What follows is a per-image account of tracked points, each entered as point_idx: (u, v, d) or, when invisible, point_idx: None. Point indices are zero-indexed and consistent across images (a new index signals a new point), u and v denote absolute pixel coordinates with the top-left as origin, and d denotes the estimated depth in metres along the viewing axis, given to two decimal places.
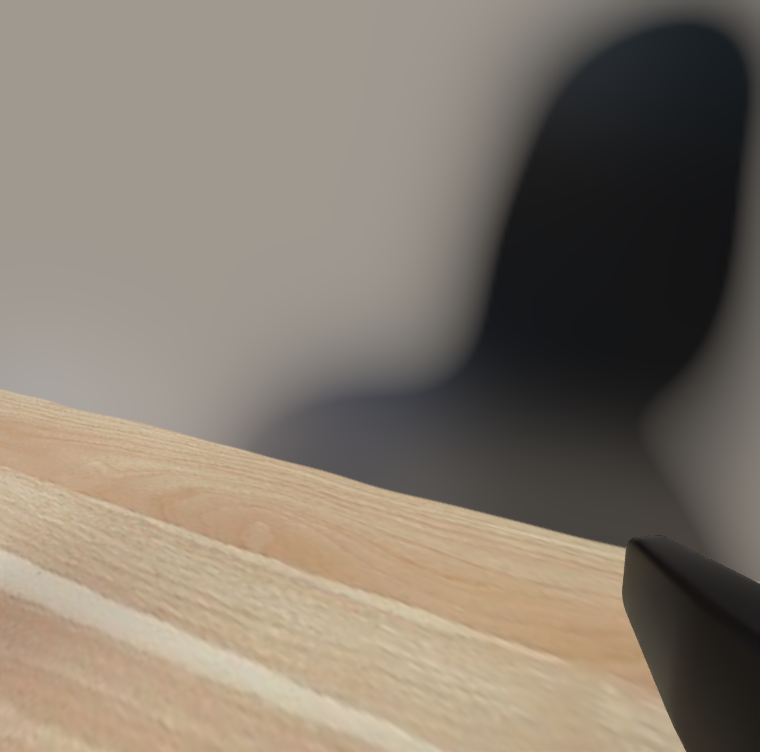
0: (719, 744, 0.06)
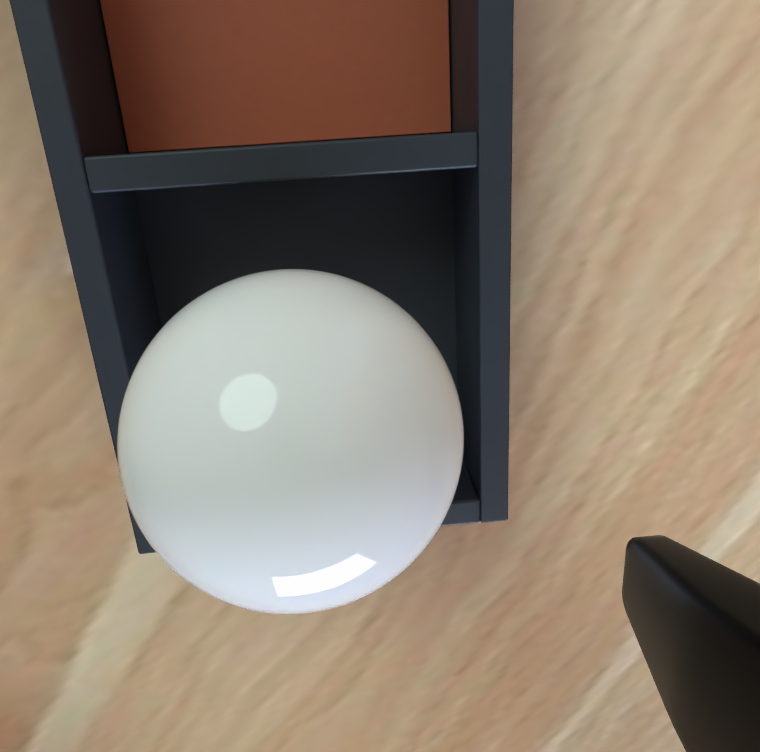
0: (719, 744, 0.06)
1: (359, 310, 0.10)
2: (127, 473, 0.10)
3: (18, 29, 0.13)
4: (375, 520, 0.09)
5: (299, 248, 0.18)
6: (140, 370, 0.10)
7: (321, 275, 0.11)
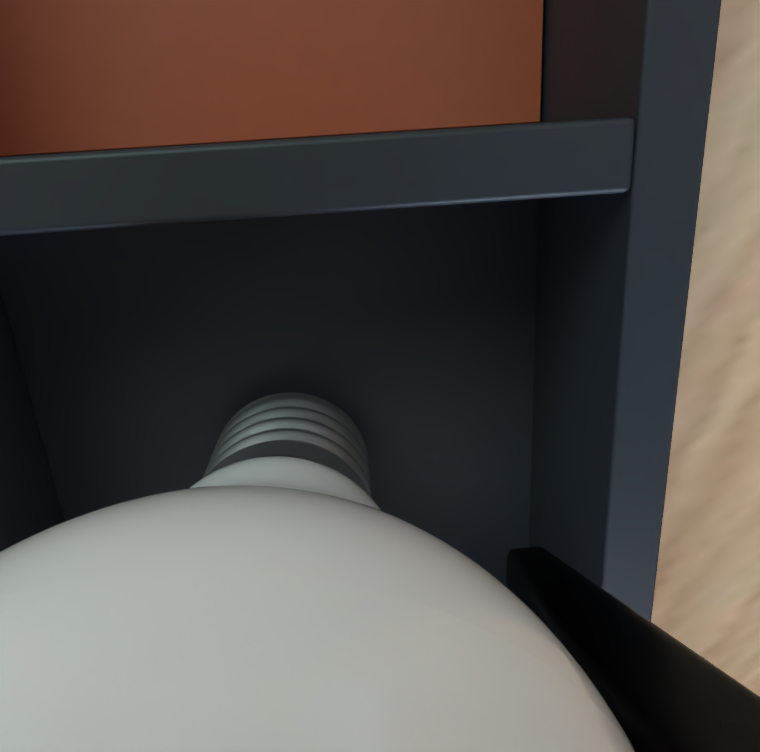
0: None
1: None
2: None
3: None
4: None
5: (274, 321, 0.11)
6: None
7: (281, 586, 0.03)
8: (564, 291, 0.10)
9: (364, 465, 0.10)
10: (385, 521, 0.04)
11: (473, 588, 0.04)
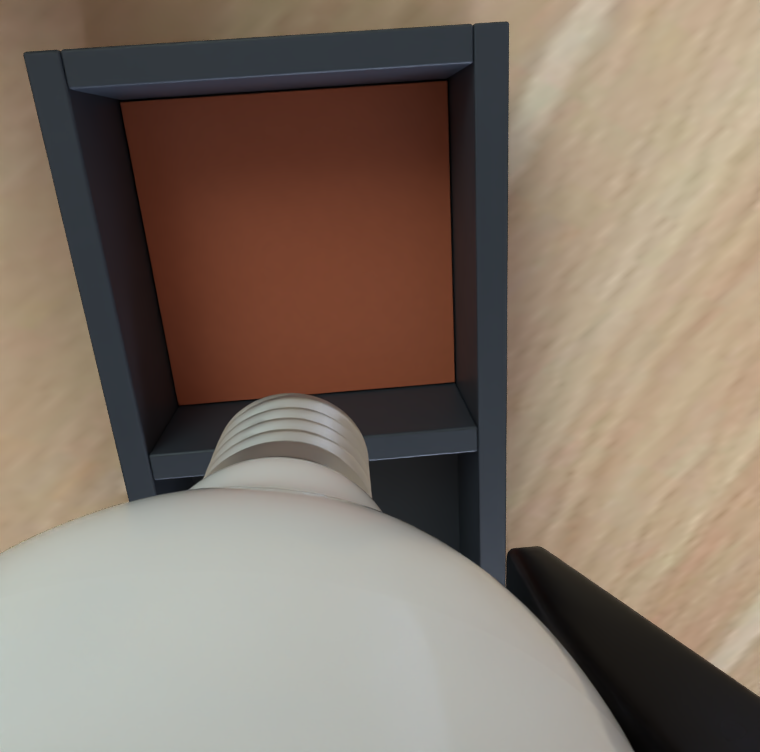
0: None
1: None
2: None
3: (98, 365, 0.16)
4: None
5: None
6: None
7: (281, 588, 0.03)
8: (465, 467, 0.20)
9: (364, 466, 0.10)
10: (385, 523, 0.04)
11: (473, 590, 0.04)
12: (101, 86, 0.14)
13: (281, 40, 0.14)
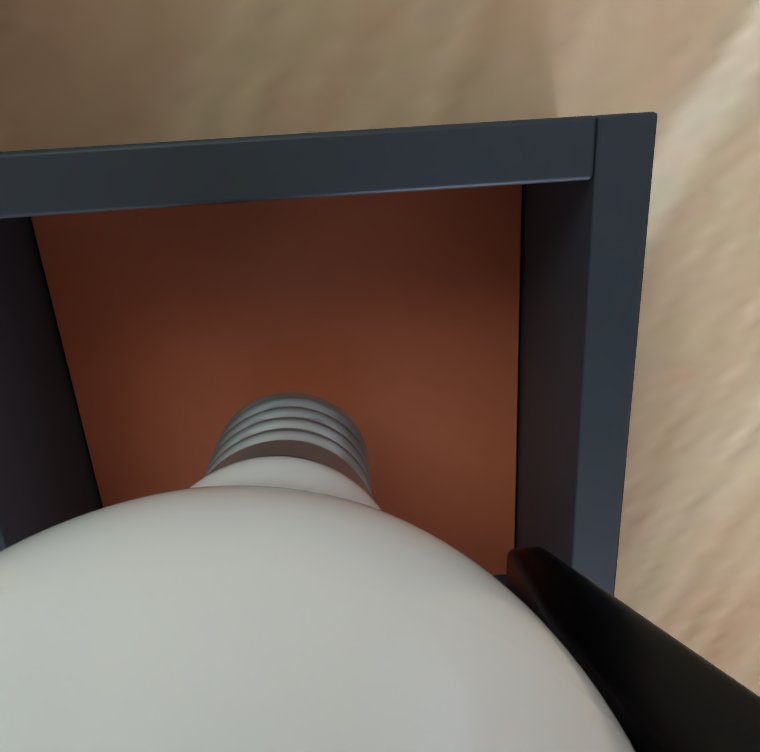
0: None
1: None
2: None
3: None
4: None
5: None
6: None
7: (280, 586, 0.03)
8: None
9: (365, 465, 0.10)
10: (385, 521, 0.04)
11: (473, 588, 0.04)
12: None
13: (268, 144, 0.08)
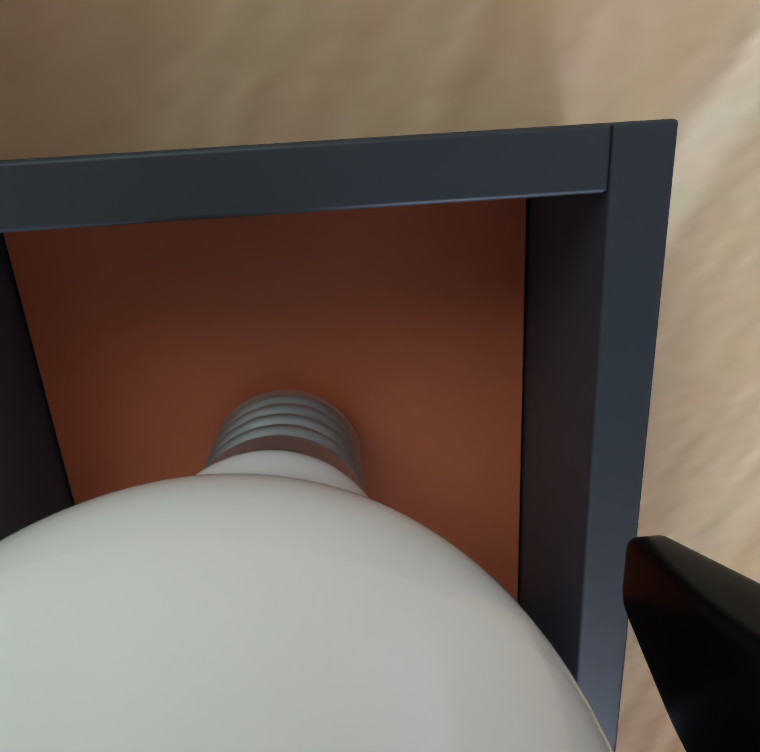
0: (719, 744, 0.06)
1: (388, 747, 0.03)
2: None
3: None
4: None
5: None
6: None
7: (269, 557, 0.04)
8: None
9: (357, 460, 0.10)
10: (367, 505, 0.05)
11: (445, 564, 0.04)
12: None
13: (252, 154, 0.07)
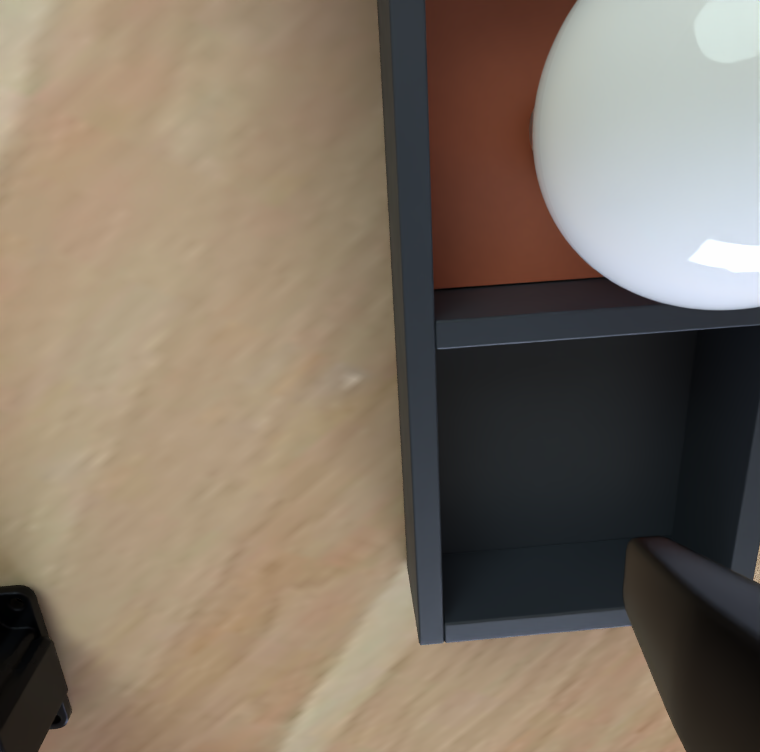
0: (719, 744, 0.06)
1: None
2: (628, 86, 0.08)
3: (398, 219, 0.15)
4: None
5: (556, 367, 0.20)
6: None
7: None
8: (720, 356, 0.19)
9: None
10: None
11: None
12: None
13: None
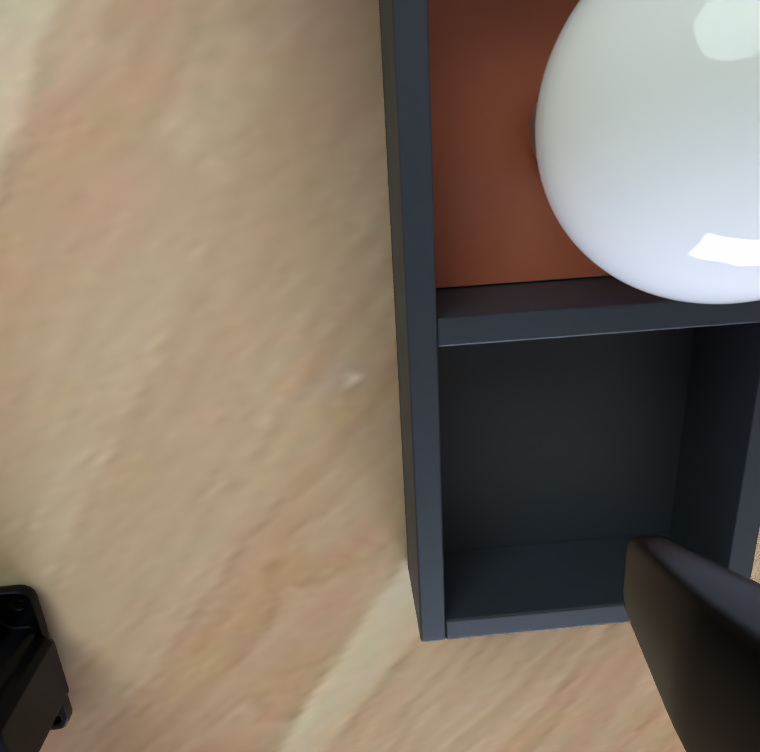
0: (719, 744, 0.06)
1: None
2: (631, 83, 0.09)
3: (401, 217, 0.15)
4: None
5: (555, 366, 0.21)
6: None
7: None
8: (717, 354, 0.19)
9: None
10: None
11: None
12: None
13: None
